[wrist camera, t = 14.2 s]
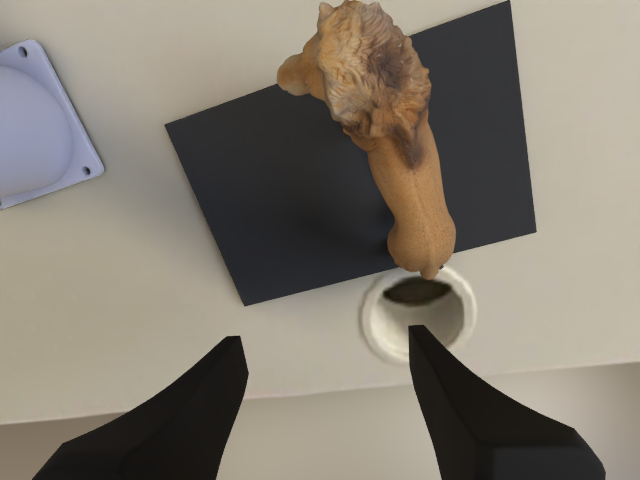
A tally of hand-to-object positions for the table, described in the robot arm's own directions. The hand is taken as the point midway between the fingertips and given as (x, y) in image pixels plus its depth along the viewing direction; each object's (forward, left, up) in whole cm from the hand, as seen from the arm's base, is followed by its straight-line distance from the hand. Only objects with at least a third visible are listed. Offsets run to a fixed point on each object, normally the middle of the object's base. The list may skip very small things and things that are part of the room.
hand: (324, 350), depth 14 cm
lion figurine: (+5, +6, -9) cm, 12 cm away
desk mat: (+3, +5, -9) cm, 11 cm away
